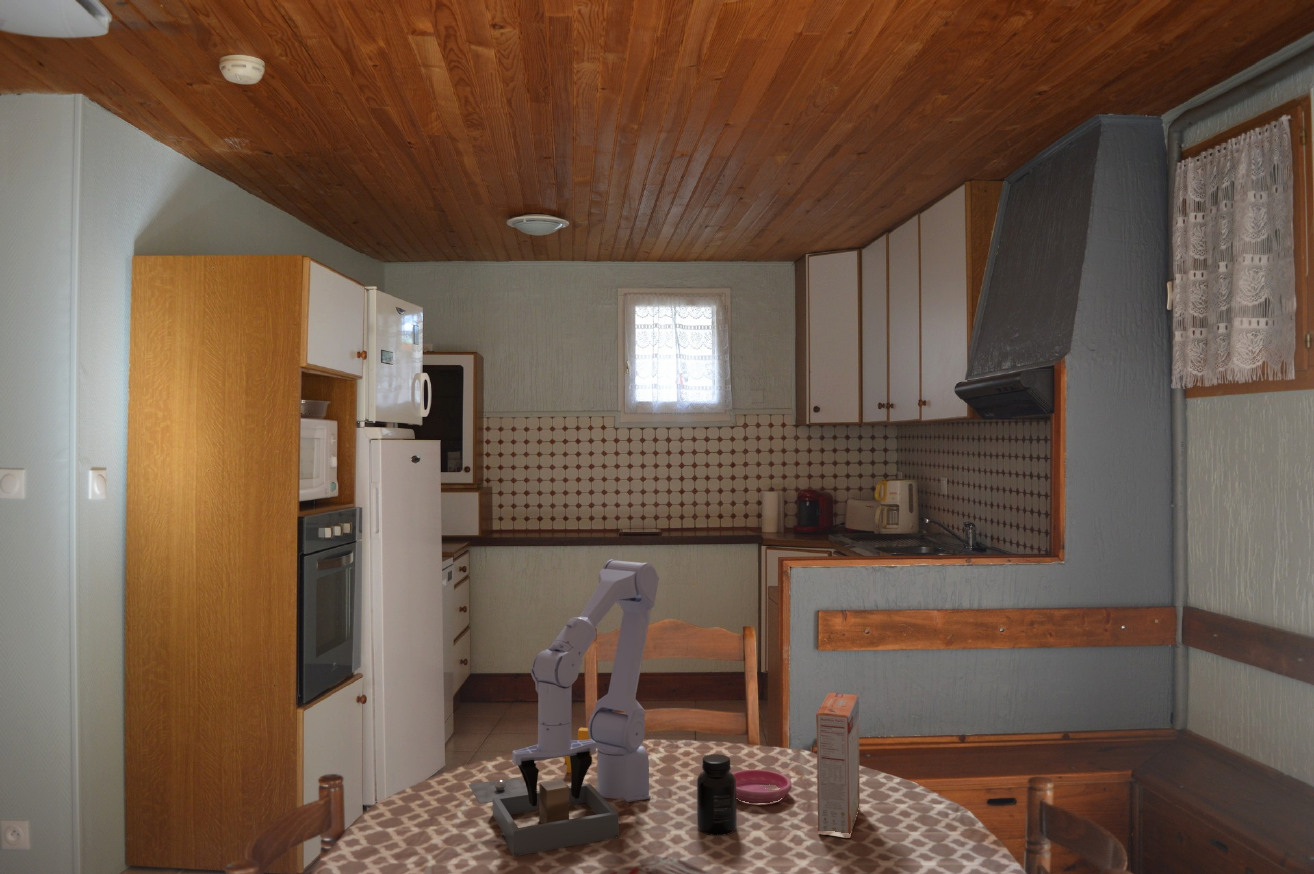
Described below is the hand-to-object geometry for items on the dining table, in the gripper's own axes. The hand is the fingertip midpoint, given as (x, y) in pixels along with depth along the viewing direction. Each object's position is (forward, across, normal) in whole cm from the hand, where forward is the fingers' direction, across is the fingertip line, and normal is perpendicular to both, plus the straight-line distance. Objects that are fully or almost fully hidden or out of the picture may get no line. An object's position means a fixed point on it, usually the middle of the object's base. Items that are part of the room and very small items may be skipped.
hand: (554, 800), depth 152 cm
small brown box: (+4, 0, 0) cm, 4 cm away
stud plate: (+5, +4, -19) cm, 20 cm away
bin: (+5, 0, 0) cm, 5 cm away
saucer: (+5, -40, +2) cm, 40 cm away
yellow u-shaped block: (+5, -14, -27) cm, 31 cm away
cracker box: (+5, -46, +18) cm, 50 cm away
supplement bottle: (+5, -26, +12) cm, 28 cm away
